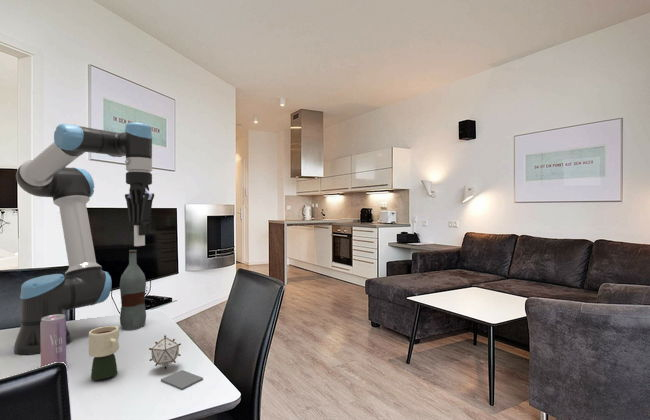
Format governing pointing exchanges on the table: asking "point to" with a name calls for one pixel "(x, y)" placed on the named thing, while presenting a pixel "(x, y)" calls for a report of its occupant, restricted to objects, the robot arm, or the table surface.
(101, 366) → the character mug
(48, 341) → the beverage can
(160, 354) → the game die
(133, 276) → the bottle
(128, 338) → the table surface
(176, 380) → the grey rubber mat
